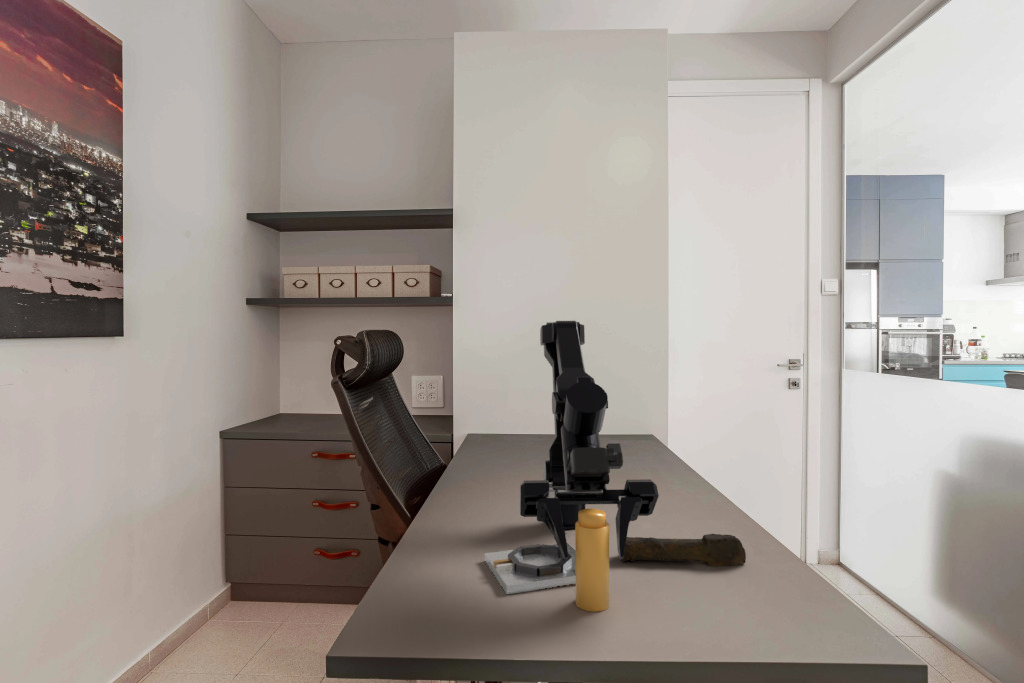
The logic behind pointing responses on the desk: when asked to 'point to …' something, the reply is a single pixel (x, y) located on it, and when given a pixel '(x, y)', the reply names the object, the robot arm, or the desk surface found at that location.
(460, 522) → the desk surface
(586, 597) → the domed yellow peg
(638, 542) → the hand tool
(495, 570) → the plate
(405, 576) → the desk surface
